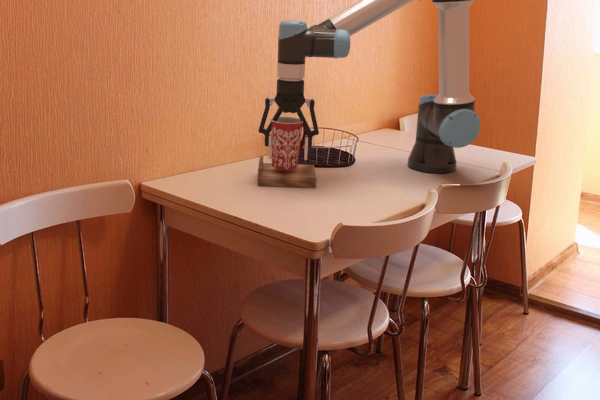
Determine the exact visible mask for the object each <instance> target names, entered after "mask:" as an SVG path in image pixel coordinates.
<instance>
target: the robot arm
mask: <svg viewBox="0 0 600 400" xmlns="http://www.w3.org/2000/svg"><path fill="white" fill-rule="evenodd" d="M413 1H414V0H358V1H357V2H355V3H353V4H351V5H350V6H347V7H345V9H343V10H341V11H339V12H337V13H336V14H334V15H333V16H331V17H329V18H327V19H325V20H323V21H321V22H320V23H318V24H312V25H311V26H309V27H308V25H307V24H308V23H307V22H306V21H303V20H287V19H286V20H285V19H284V20H282V21H280V22H279V28H278V37H277V68H276V69H277V70H276V71H277V73H276V77H277V80H276V95H275V97H268V96H267V97H265V98H264V103H265V106H264V110H263V114H262V116H261V121H260V124H259V127H258V133H259V134H262V135H264V146H265V147H268V152H267V153H268V154H267V155H268V157H267V159H271V160H272V131H271V130H272V127H271V121H270V122H269V124H268V126H267V127H266V128H265V125H266V122H267V119H268V114H269V112H270V107H271V106H273V104H274V102H275V104H276V106H277V107H278V108H277V110H276V112H275V113H274V116H273V117H272V118H273V121H275V122H277V120H278V118H279V117H281V116H282V114H283V113H284V114H287V113H289V114H290V113H291V114H297V116H298V118H299V119H300V120H301V122H302V121H303V126H304V128H305V130H306V132H307V134H308V135H305V145H304V152H303V153H304V154H303V156H304V157H303V158H304V161H308V151H309V149H312V147H313V137H314V136H318V135H319V134H320V131H319V127H318V122H317V116H316V113H315V102H316V101H315V98H311V99H309V98H305V95H304V94H305V80H304V79H305V77H306V75H305V74H306V73H305V71H306V58H327V59H330V58H331V59H332V58H333V59H345V58H347V57H348V55H349V53H350V50H351V36H353V35H355V34H357V33H359V32H360V31H362V30H364V29H366V28H367V27H369V26H371V25H373V24H374V23H376V22H378V21H379V20H382V19H383V18H385V17H387V16H388V15H390V14H392V13H394V12H396V11H397V10H399V9H401V8H403V7H405V6H407V5H408V4H410V3H411V2H413ZM417 1H420V2H421V0H417ZM475 2H476V0H431V3H432V4H433V5H434V6H435V7H436V8H437V33H438V35H437V38H438V39H437V41H438V43H437V44H438V46H437V49H438V94H422V95H421V96H420V97H419V102H418V106H417V107H418V108H417V109H418V110H417V120H416V130H415V131H416V133H415V134H416V135H415V140H414V141H415V142H414V144H413V146H412V149H411V152H410V153H409V156H408V159H407V167H409V168H410V169H412V170H416V171H419V172H422V173H423V172H424V173H429V174H430V173H431V174H448V173H454V172H455V171H456V170H457V158H456V153H455V149H454V148H457V149H460V148H464V147H467V146H469V145H471V144H472V143H473V142H474V141H475V140H476V139H477V137H478V136H479V135H480V131H481V127H482V125H481V124H482V123H481V120H480V117H479V115H478V113H476V112H475V109H476V105H475V103H476V100H475V97H474V96H473V95H472V94H471V93H470V25H471V24H470V22H471V21H470V19H471V18H470V12H471V11H470V8H471V6H472V5H473V4H474V3H475ZM304 104H306V107H307V108H309V114H310V119H311V123H312V128H313V130H312V129H311V127H310V126H309V124H308V121H307V119H306V117H305V115H304V113H303V111H302V109H301V108H302V107H303V105H304Z"/></svg>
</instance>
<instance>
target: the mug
mask: <svg viewBox="0 0 600 400" xmlns="http://www.w3.org/2000/svg"><path fill="white" fill-rule="evenodd" d="M270 122H271V127H272V130H271V134H272V145H271V163H272V167H274V168H276V169H281V170H292V169H296V168H297V165H298V164H299V155H300V154H301V152H302V151H303V149H304V148H305V135H308V134H307V132H306V130H305V128H304V126H303V121H302V122H301V120H300V118H299V117H298V118H297V117H292V116H280V117H279V118H278V120H277V122H275V121H273V117H271V118H270ZM302 130H303V131H302ZM302 132H303V133H302Z"/></svg>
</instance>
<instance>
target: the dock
mask: <svg viewBox="0 0 600 400" xmlns="http://www.w3.org/2000/svg"><path fill="white" fill-rule="evenodd" d="M258 160H259V161H258V168H257V186H259V187H260V186H261V187H283V188H284V187H286V188H287V187H288V188H289V187H291V188H312V189H313V188H316V186H317V185H316V184H317V177H316V176H317V175H316V169H315V164H303V163H302V164H301V163H298V165H297V168H296V169H292V170H281V169H276V168H274V167H272V162H270V163H269V162H264V156H262V155H260V156H259V159H258Z"/></svg>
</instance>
